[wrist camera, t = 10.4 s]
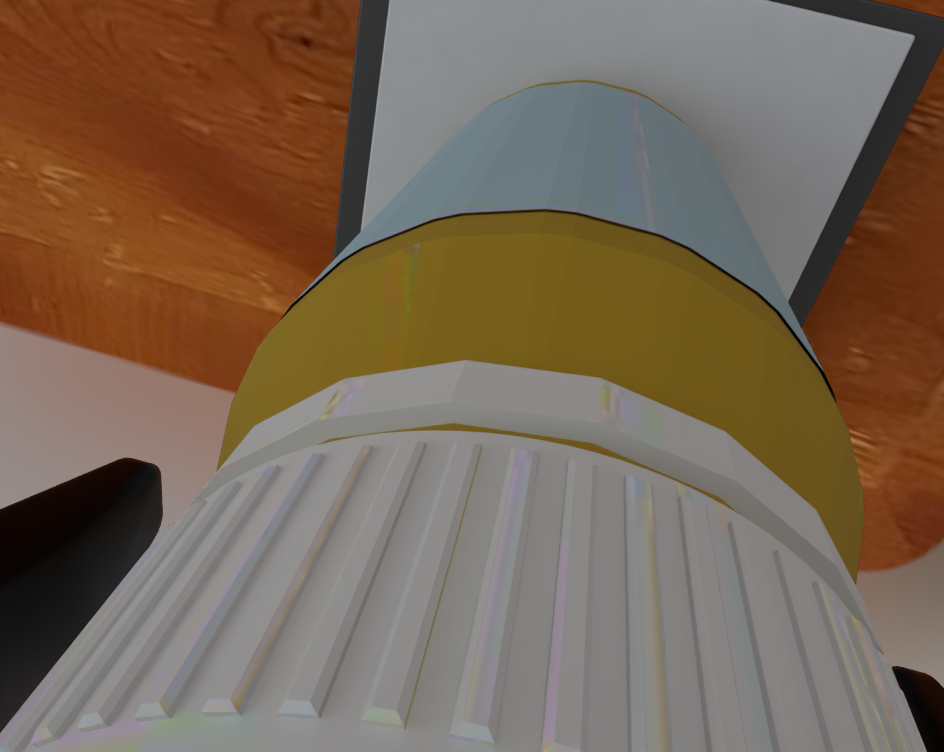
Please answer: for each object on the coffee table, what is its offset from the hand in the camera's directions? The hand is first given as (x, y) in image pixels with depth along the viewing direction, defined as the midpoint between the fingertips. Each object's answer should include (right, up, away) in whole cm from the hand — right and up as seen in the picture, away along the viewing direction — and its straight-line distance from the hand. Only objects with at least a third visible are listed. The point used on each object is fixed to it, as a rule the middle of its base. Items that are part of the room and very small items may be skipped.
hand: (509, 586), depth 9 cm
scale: (+3, +7, +10) cm, 13 cm away
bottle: (+2, +6, +8) cm, 10 cm away
